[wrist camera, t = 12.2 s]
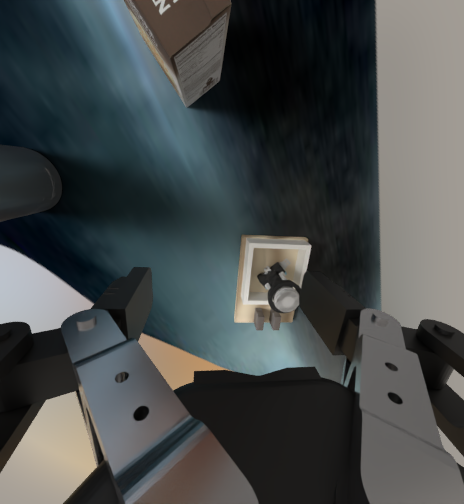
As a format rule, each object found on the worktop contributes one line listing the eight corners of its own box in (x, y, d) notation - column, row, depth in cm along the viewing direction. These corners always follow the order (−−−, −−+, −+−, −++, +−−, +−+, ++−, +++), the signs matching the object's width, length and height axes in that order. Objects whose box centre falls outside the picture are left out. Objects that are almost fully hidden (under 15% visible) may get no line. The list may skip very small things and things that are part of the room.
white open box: (240, 295, 43) (243, 304, 40) (246, 237, 39) (249, 243, 36) (293, 296, 44) (299, 304, 41) (304, 240, 40) (311, 245, 37)
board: (234, 318, 46) (236, 332, 42) (241, 234, 40) (245, 241, 36) (290, 318, 47) (297, 332, 43) (305, 237, 41) (315, 244, 37)
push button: (278, 248, 40) (300, 272, 31) (295, 268, 42) (320, 296, 32) (250, 271, 41) (262, 301, 32) (267, 290, 43) (284, 323, 33)
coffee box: (142, 42, 29) (74, -92, 14) (181, 9, 28) (151, -170, 14) (187, 110, 32) (168, 58, 17) (222, 81, 32) (235, 1, 17)
